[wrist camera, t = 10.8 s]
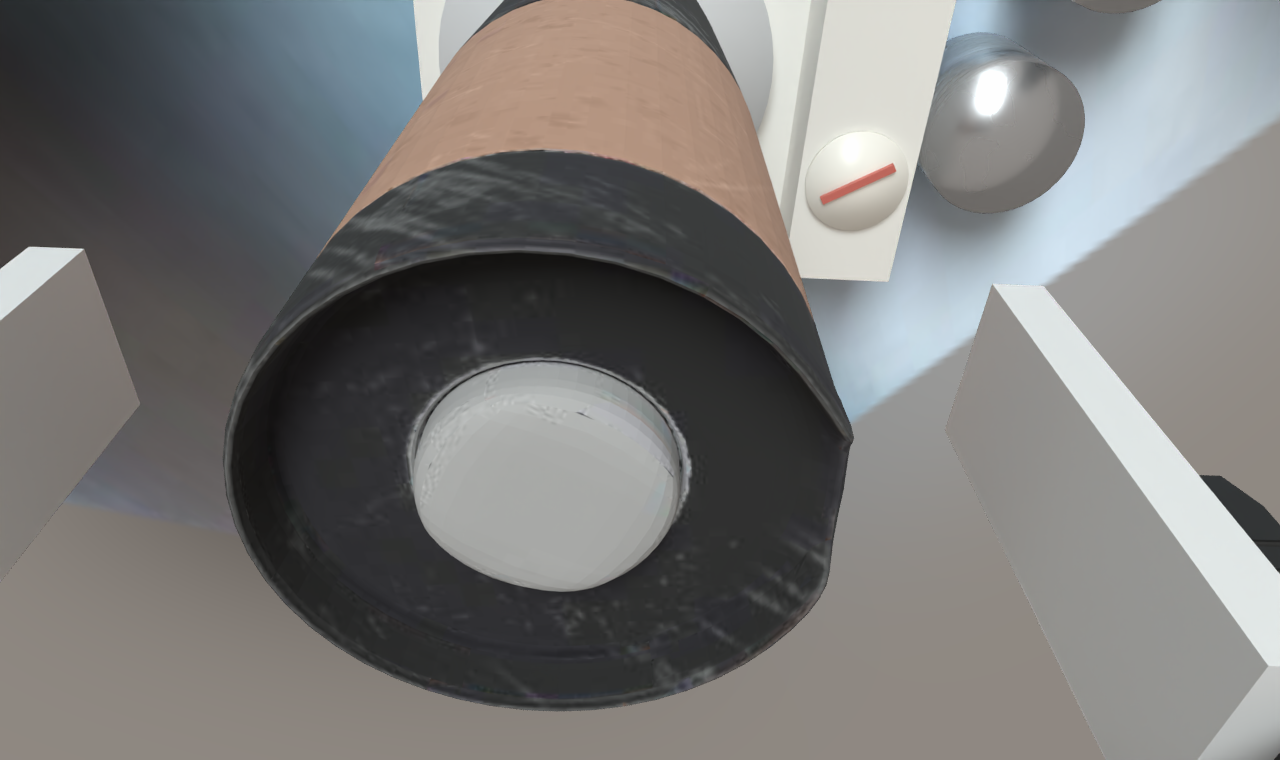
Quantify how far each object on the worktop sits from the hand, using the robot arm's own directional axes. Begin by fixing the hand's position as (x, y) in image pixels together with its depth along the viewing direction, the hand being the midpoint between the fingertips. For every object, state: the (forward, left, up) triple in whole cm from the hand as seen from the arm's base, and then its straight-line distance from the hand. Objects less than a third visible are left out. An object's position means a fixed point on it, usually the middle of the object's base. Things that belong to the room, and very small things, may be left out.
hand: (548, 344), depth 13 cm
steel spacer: (+13, -2, -20) cm, 24 cm away
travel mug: (0, 0, -17) cm, 17 cm away
